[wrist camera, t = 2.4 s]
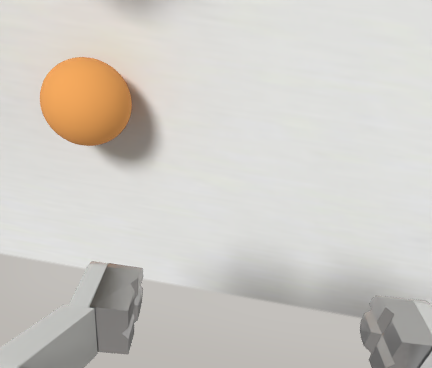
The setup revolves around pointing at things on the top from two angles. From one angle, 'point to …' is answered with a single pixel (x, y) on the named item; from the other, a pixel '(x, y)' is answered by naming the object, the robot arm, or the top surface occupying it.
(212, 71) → the top surface
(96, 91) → the ball
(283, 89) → the top surface
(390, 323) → the robot arm
